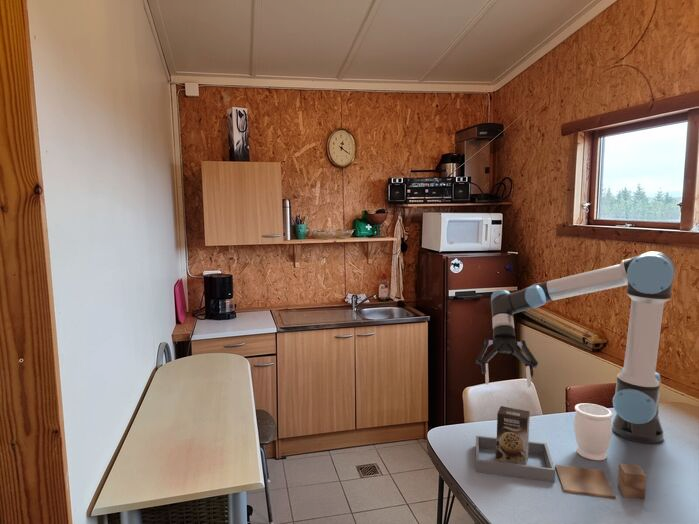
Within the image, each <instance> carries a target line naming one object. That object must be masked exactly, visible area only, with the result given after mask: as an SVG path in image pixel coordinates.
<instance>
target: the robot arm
mask: <svg viewBox="0 0 699 524" xmlns="http://www.w3.org/2000/svg"><path fill="white" fill-rule="evenodd" d="M675 271H676V267H675V263H674V261H673V260H672V258H671V257H670V256H668V255H667V254H665V253H664V252H662V251H654V250H653V251H652V250H651V251H646V252H643V253H641V254H639V255H636V256H633V257H629V258H627V259H623V260H622V261H621V262H620V263H619V264H614V265H609V266H606V267H601V268H597V269H594V270H590V271H589V270H588V271H585V272H581V273H578V274H577V273H576V274H572V275H568V276H564V277H561V278H556V279H552V280H547V281H543V282H537V283H533V284H531V285H530V286H528V287H525V288H523V289H521V290H520V289H519V290H518V291H515V292H514V291H513V292H510V291H508V290H505V289H502V290H500V289H498V290H495V291H494V292H492V294H491V295H490V307H491V319H492V337H493V340H492V339H489V338H487V337H486V338H485V339H484V343H483V347H482V348H481V349H480V351H479V354H478V356H477V358H476V360H475V363H476V365H480V366H481V373H482V375H484V376H485V377H484V378H485V380H484V381H485V385H489V382H490V377H489V361H491V359H493V358H494V357H495V356H496V355H497V354H498V353H500V354H507V355H508V354H509V355H510V354H512V355H513V356H514V357H516V358H517V359H518V360H519V361H520V362H521V363H522V364H523V365H524V366H525V367H526V368H525V376H526V382H527V385H526V386H527V388H531V387H532V378H533V377H534V369H536V368H537V367H538V365H539V362H538V361H537V359H536V358H535V357H534V355H533V354H532V352H531V350H530V349H529V347H528V346H527V342H526V341H525V339H524V340H523V339H522V340H521V341H517V338H516V332H515V321H514V314H518V313H521V312H524V311H528V310H532V309H537V308H539V307H541V306H544V305H546V303H549V302H552V301H557V300H562V299H566V298H572V297H575V296H581V295H586V294H589V293H591V294H592V293H595V292H600V291H605V290H610V289H615V288H619V287H624V286H627V288H626V295H627V296H628V298H630V299H631V301H630V308H629V309H630V310H629V318H628V319H629V320H628V329H627V337H626V346H625V353H624V362H623V367H622V368H621V370H620V372H619V373H617V376H616V385H615V393H614V395H613V396H612V407H613V409H614V412H615V413H616V414H615V416H614V419H613V420H612V424H611V425H612V432H614V433H615V434H616V435H617V436H620V437H622V438H624V439H626V440H629V441H632V442H636V443H641V444H658V443H661V442H662V441H663V440H664V430H663V427H662V423H661V419H660V416H659V411H660V410H659V409H660V392H661V391H660V389H661V384H662V380H661V375H660V373H659V372H657V371H656V370H657V361H658V353H659V347H660V338H661V329H662V324H663V323H662V321H663V314H664V304H665V303H667V302H668V301H670V300H671V298H672V290H673V283H674V278H675V273H676V272H675ZM491 345H492V346H493V349H492V350H491V351H490V352H489V353H488V354H487V355H486V356H485V357H484V355H485V354H486V352H487V350H488V348H489V347H490V346H491ZM518 347H519V349H521V351H522V352H523V353H522V352H521V351H520V350H519V349H518Z"/></svg>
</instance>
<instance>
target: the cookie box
mask: <svg viewBox="0 0 699 524" xmlns="http://www.w3.org/2000/svg"><path fill="white" fill-rule="evenodd" d="M530 414H531V411H530V410H523V409H518V408H513V407H509V406H508V407H507V406H503V405H500V407H499V409H498V411H497V414H496V415H497V418H496V420H497V421H496V438H497V443H496V449H495V462H503V463H512V464H520V465H528V462H529V453H528V443H529V439H530V437H529V436H530V433H529V432H530V418H531V417H530V416H531V415H530Z"/></svg>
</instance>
